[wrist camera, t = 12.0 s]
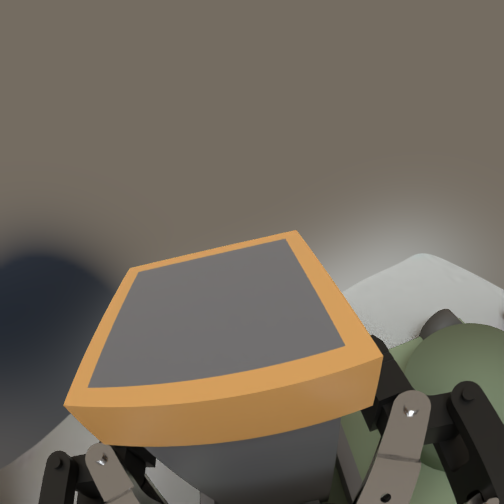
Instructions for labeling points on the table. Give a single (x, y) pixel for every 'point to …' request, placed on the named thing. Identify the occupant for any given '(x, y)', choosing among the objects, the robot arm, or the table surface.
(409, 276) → the table surface
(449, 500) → the toy lawn mower
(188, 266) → the orange-capped grey post
